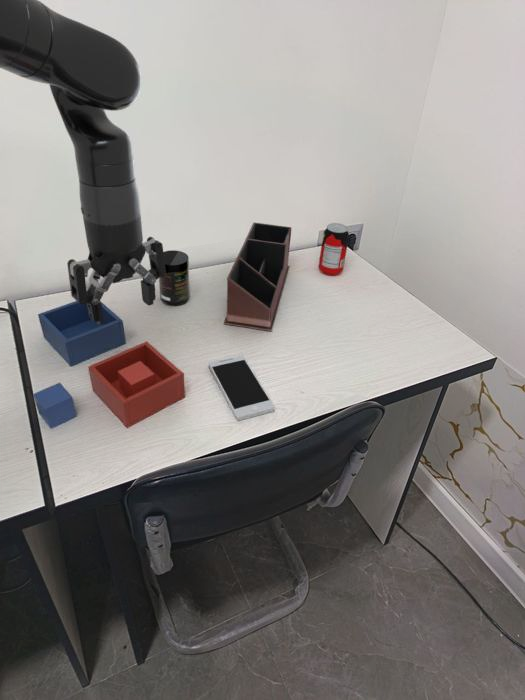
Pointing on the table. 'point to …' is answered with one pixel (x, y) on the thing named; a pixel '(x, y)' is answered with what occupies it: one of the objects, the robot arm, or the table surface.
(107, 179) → the robot arm
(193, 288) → the table surface
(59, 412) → the blue block
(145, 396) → the red bin
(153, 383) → the red block
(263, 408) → the smartphone
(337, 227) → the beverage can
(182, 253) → the supplement container
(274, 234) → the desk organizer
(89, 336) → the blue bin
